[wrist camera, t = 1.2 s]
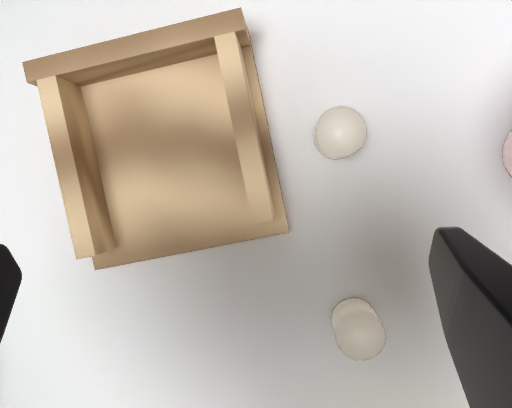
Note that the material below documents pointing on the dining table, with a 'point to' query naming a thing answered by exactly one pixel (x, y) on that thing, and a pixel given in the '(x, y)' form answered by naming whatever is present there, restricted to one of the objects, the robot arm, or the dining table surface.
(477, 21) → the dining table surface
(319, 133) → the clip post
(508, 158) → the smoothie
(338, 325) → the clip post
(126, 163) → the tray
